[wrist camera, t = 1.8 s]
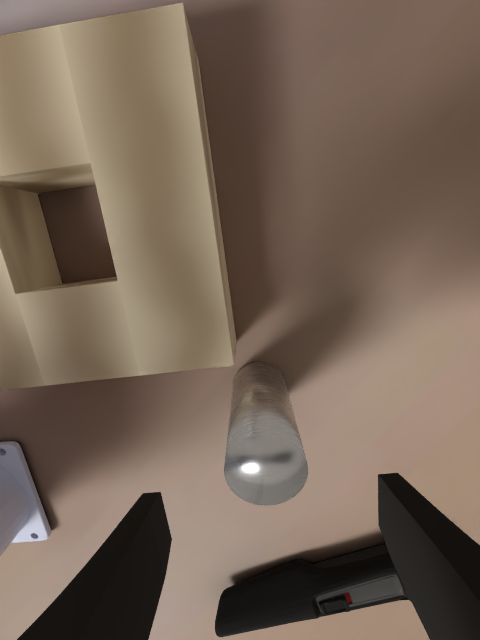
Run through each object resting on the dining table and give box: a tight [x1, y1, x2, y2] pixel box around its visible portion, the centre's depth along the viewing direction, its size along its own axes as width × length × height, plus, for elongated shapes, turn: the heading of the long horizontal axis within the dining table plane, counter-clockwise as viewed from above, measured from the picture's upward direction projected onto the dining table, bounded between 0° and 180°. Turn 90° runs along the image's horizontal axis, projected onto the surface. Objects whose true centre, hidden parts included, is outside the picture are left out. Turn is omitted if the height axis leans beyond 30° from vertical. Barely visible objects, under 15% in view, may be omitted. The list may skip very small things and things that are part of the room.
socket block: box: [0, 3, 237, 390], centre depth 14 cm, size 14×14×4 cm
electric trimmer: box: [215, 544, 412, 637], centre depth 21 cm, size 4×16×3 cm, turn 110°
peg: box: [224, 362, 308, 505], centre depth 15 cm, size 3×3×7 cm
